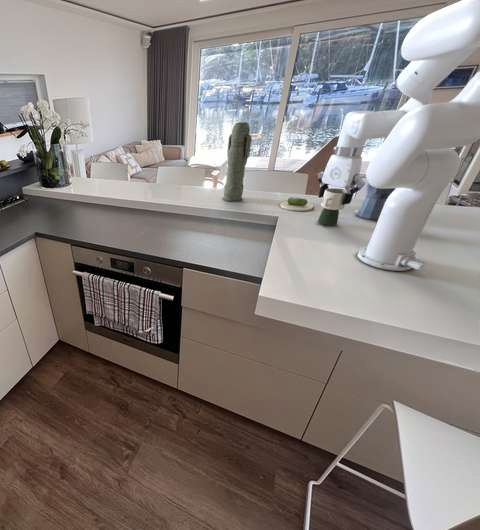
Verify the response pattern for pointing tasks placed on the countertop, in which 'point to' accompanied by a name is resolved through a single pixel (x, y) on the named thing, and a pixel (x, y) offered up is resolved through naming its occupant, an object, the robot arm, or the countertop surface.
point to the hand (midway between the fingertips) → (333, 200)
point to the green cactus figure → (237, 161)
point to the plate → (296, 206)
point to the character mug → (331, 206)
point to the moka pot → (374, 202)
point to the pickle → (297, 201)
